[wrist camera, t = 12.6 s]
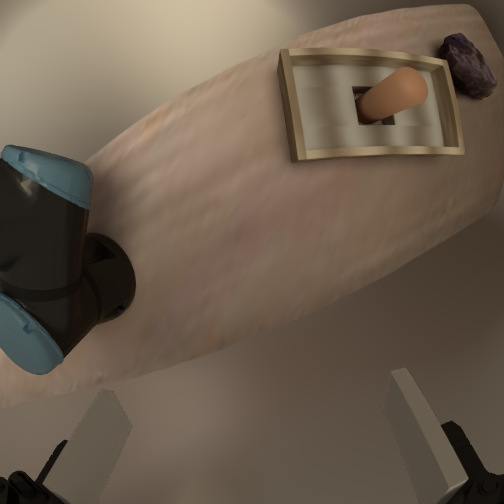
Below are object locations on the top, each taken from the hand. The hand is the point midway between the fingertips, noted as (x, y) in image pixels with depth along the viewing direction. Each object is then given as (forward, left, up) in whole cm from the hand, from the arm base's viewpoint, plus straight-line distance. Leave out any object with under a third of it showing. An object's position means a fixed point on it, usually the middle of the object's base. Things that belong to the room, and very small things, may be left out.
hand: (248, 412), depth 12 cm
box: (+18, +18, -32) cm, 41 cm away
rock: (+38, +26, -32) cm, 56 cm away
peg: (+18, +18, -32) cm, 41 cm away
